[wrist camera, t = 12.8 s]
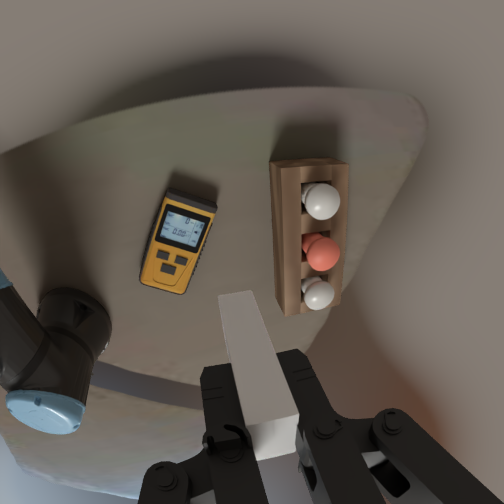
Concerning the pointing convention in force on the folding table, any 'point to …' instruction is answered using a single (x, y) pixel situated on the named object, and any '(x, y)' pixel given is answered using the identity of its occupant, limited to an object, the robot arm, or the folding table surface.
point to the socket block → (304, 227)
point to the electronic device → (176, 241)
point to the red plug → (320, 251)
